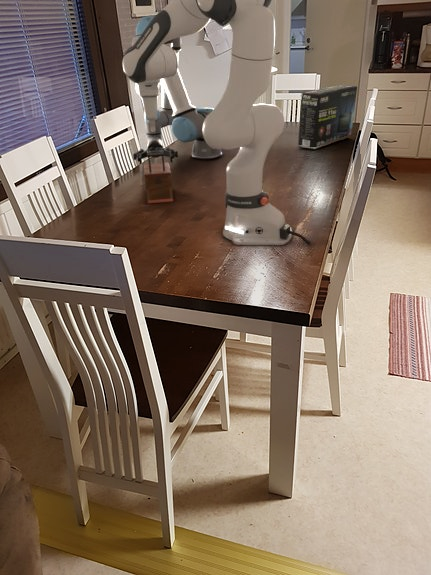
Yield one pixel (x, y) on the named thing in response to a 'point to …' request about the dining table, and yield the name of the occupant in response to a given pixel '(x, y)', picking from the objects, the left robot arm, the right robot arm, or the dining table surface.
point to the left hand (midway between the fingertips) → (155, 160)
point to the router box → (326, 115)
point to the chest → (159, 189)
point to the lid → (156, 165)
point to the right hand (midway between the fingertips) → (152, 128)
